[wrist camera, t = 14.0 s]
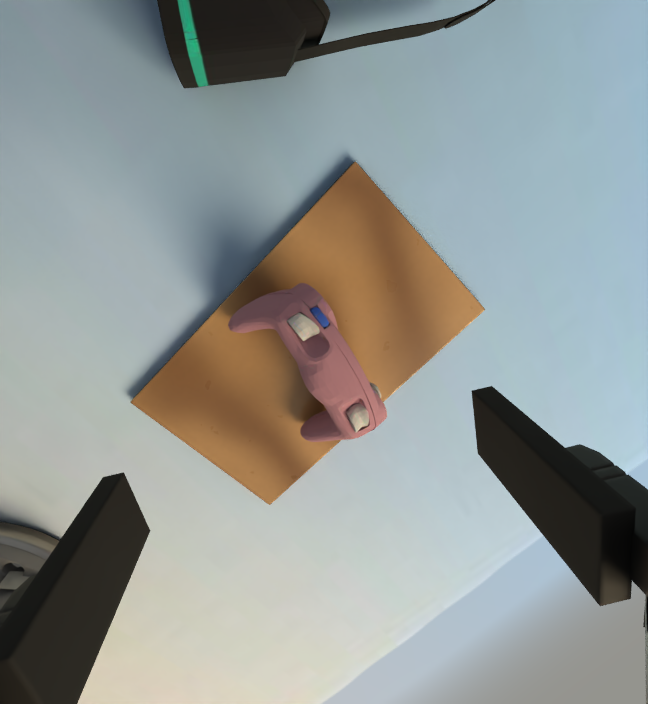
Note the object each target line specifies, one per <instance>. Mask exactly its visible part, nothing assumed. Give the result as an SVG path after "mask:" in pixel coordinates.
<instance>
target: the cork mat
mask: <svg viewBox="0 0 648 704" xmlns="http://www.w3.org/2000/svg"><path fill="white" fill-rule="evenodd" d="M299 283H305V284H308V285H310V286H311V287H313V288H314V289H315V290H316V291H317V292H318V293H320V294H321V296H322V297H323V298H324V299H325V300H326V302H327V303H328V305H329V306H330V308H331V309H332V311H333V314H334V316H335V319H336V322H337V327H338V331H339V332H340V334H341V335H342V337H343V338H344V340H345V341H346V343H347V344H348V346H349V347H350V349H351V350H352V352H353V354H354V355H355V357H356V359H357V360H358V362H359V364H360V366H361V368H362V369H363V371H364V373H365V375H366V377H367V379H368V381H369V382H370V383H373V384H375V385H376V386H377V387H378V388H379V391H380V393H381V398H380V399H381V400H382V402H384V401H385V400H386V399H387V398H388V397H389V396H390V395H391V394H393V393H394V392H395V391H396V390H397V389H398V388H399V387H400V386H401V385H402V384H404V383H405V382H406V381H407V380H408V379H409V378H410V377H411V376H412V375H414V374H415V373H416V372H417V371H418V370H419V369H420V368H421V367H422V366H423V365H425V364H426V363H427V362H428V361H429V360H430V359H431V358H432V357H433V356H434V355H436V354H437V353H438V352H439V351H440V350H441V349H442V348H443V347H444V346H446V345H447V344H448V343H449V342H450V341H451V340H452V339H453V338H454V337H455V336H457V335H458V334H459V333H460V332H461V331H462V330H463V329H464V328H465V327H466V326H468V325H469V324H470V323H471V322H472V321H473V320H474V319H475V318H476V317H477V316H479V315H480V314H481V313H482V312H483V311H484V310H485V309H484V307H483V306H482V305H481V304H480V303H479V302H478V301H477V299H476V298H475V297H474V296H473V295H472V294H471V293H470V291H469V290H468V289H467V288H466V287H465V286H464V285H463V283H462V282H461V281H460V280H459V279H458V278H457V277H456V275H455V274H454V273H453V272H452V271H451V270H450V269H449V267H448V266H447V265H446V264H445V263H444V262H443V261H442V259H441V258H440V257H439V256H438V255H437V254H436V253H435V251H434V250H433V249H432V248H431V247H430V246H429V245H428V243H427V242H426V241H425V240H424V239H423V238H422V237H421V236H420V234H419V233H418V232H417V231H416V230H415V229H414V228H413V226H412V225H411V224H410V223H409V222H408V221H407V220H406V218H405V217H404V216H403V215H402V214H401V213H400V212H399V210H398V209H397V208H396V207H395V206H394V205H393V204H392V202H391V201H390V200H389V199H388V198H387V197H386V196H385V194H384V193H383V192H382V191H381V190H380V189H379V188H378V186H377V185H376V184H375V183H374V182H373V181H372V180H371V178H370V177H369V176H368V175H367V174H366V173H365V172H364V170H363V169H362V168H361V167H360V166H359V165H358V164H357V162H354V163H353V164H352V165H351V166H350V167H349V168H348V169H347V170H346V171H345V172H344V173H343V174H342V175H341V176H340V178H339V179H338V180H337V181H336V182H335V183H334V184H333V185H332V186H331V187H330V188H329V189H328V190H327V191H326V193H325V194H324V195H323V196H322V197H321V198H320V199H319V200H318V201H317V202H316V203H315V204H314V205H313V206H312V208H311V209H310V210H309V211H308V212H307V213H306V214H305V215H304V216H303V217H302V218H301V219H300V220H299V221H298V223H297V224H296V225H295V226H294V227H293V228H292V229H291V230H290V231H289V232H288V233H287V234H286V235H285V236H284V238H283V239H282V240H281V241H280V242H279V243H278V244H277V245H276V246H275V247H274V248H273V249H272V250H271V251H270V253H269V254H268V255H267V256H266V257H265V258H264V259H263V260H262V261H261V262H260V263H259V264H258V265H257V267H256V268H255V269H254V270H253V271H252V272H251V273H250V274H249V275H248V276H247V277H246V278H245V279H244V280H243V282H242V283H241V284H240V285H239V286H238V287H237V288H236V289H235V290H234V291H233V292H232V293H231V294H230V295H229V297H228V298H227V299H226V300H225V301H224V302H223V303H222V304H221V305H220V306H219V307H218V308H217V309H216V310H215V312H214V313H213V314H212V315H211V316H210V317H209V318H208V319H207V320H206V321H205V322H204V323H203V324H202V325H201V327H200V328H199V329H198V330H197V331H196V332H195V333H194V334H193V335H192V336H191V337H190V338H189V339H188V340H187V342H186V343H185V344H184V345H183V346H182V347H181V348H180V349H179V350H178V351H177V352H176V353H175V354H174V355H173V357H172V358H171V359H170V360H169V361H168V362H167V363H166V364H165V365H164V366H163V367H162V368H161V369H160V370H159V372H158V373H157V374H156V375H155V376H154V377H153V378H152V379H151V380H150V381H149V382H148V383H147V384H146V385H145V387H144V388H143V389H142V390H141V391H140V392H139V393H138V394H137V395H136V396H135V397H134V398H133V399H132V401H131V403H132V404H133V405H135V406H136V407H137V408H139V409H140V410H141V411H143V412H144V413H146V414H147V415H148V416H150V417H151V418H152V419H154V420H155V421H156V422H158V423H159V424H160V425H162V426H163V427H165V428H166V429H167V430H169V431H170V432H171V433H173V434H174V435H175V436H177V437H178V438H179V439H181V440H182V441H184V442H185V443H186V444H188V445H189V446H190V447H192V448H193V449H194V450H196V451H197V452H198V453H200V454H201V455H203V456H204V457H205V458H207V459H208V460H209V461H211V462H212V463H213V464H215V465H216V466H217V467H219V468H220V469H222V470H223V471H224V472H226V473H227V474H228V475H230V476H231V477H232V478H234V479H235V480H236V481H238V482H239V483H241V484H242V485H243V486H245V487H246V488H247V489H249V490H250V491H251V492H253V493H254V494H255V495H257V496H258V497H260V498H261V499H262V500H264V501H265V502H266V503H268V504H269V505H270V504H271V503H272V502H273V501H275V500H276V499H277V498H278V497H279V496H280V495H281V494H282V493H283V492H284V491H286V490H287V489H288V488H289V487H290V486H291V485H292V484H293V483H294V482H295V481H297V480H298V479H299V478H300V477H301V476H302V475H303V474H304V473H305V472H307V471H308V470H309V469H310V468H311V467H312V466H313V465H314V464H315V463H316V462H318V461H319V460H320V459H321V458H322V457H323V456H324V455H325V454H326V453H327V452H329V451H330V450H331V449H332V448H333V447H334V446H335V445H336V444H337V443H339V442H340V441H341V440H333V441H324V442H310V441H307V440H305V439H304V438H303V437H302V436H301V433H300V430H301V427H302V425H303V424H304V422H305V421H307V420H308V419H309V418H310V417H312V416H314V415H316V414H318V413H320V412H322V411H325V410H326V408H325V406H324V405H323V404H322V403H321V402H320V401H318V400H317V399H316V398H315V397H314V396H313V395H312V394H311V393H310V392H309V390H308V389H307V387H306V385H305V383H304V381H303V379H302V376H301V374H300V371H299V367H298V364H297V362H296V360H295V359H294V357H293V356H292V354H291V353H290V351H289V350H288V349H287V347H286V345H285V344H284V342H283V341H282V339H281V337H280V336H279V334H278V333H277V331H276V330H274V329H262V330H255V331H251V332H247V333H237V332H233V331H231V330H230V329H229V327H228V323H229V320H230V318H231V317H232V316H233V315H234V314H235V313H236V312H237V311H238V310H239V309H240V308H241V307H243V306H245V305H246V304H248V303H250V302H252V301H253V300H255V299H257V298H259V297H261V296H264V295H266V294H269V293H273V292H276V291H280V290H287V289H292V288H293V287H295V286H296V285H297V284H299Z"/></svg>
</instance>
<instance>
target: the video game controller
mask: <svg viewBox="0 0 648 704" xmlns="http://www.w3.org/2000/svg"><path fill="white" fill-rule="evenodd" d="M228 327H229V329H230V330H231V331H233V332H237V333H247V332H251V331H255V330H262V329H274V330H276V331H277V333H278V334H279V336H280V337H281V339H282V341H283V342H284V344H285V345H286V347H287V349H288V350H289V351H290V353H291V354H292V356H293V357H294V359H295V360H296V362H297V364H298V367H299V371H300V374H301V376H302V379H303V381H304V383H305V385H306V387H307V389H308V390H309V392H310V393H311V394H312V395H313V396H314V397H315V398H316V399H317V400H318V401H320V402H321V403H322V404H323V405H324V406H325V408H326V410H325V411H322V412H320V413H318V414H316V415H314V416H312V417H310V418H309V419H308V420H307V421H305V422H304V424H303V425H302V427H301V430H300V433H301V436H302V437H303V438H304V439H305V440H307V441H310V442H324V441H333V440H346V439H354V438H358V437H360V436H362V435H365V434H366V433H368V432H370V431H372V430H374V429H375V428H376V427H377V426H378V425H379V424H381V423H382V422H383V421H384V420H385V419H386V417H387V412H386V408H385V406H384V403H383V402H382V400H381V399H380V398H381V393H380V391H379V388H378V387H377V386H376V385H375V384H373V383H370V382H369V381H368V379H367V377H366V375H365V373H364V371H363V369H362V368H361V366H360V364H359V362H358V360H357V359H356V357H355V355H354V354H353V352H352V350H351V349H350V347H349V346H348V344H347V343H346V341H345V340H344V338H343V337H342V335H341V334H340V332H339V331H338V327H337V322H336V319H335V316H334V314H333V311H332V309H331V308H330V306H329V305H328V303H327V302H326V300H325V299H324V298H323V297H322V296H321V294H320V293H318V292H317V291H316V290H315V289H314V288H313V287H311V286H310V285H308V284H305V283H299V284H297V285H296V286H295V287H293V288H292V289H287V290H280V291H276V292H273V293H269V294H266V295H264V296H261V297H259V298H257V299H255V300H253V301H252V302H250V303H248V304H246V305H245V306H243V307H241V308H240V309H239V310H238V311H237V312H236V313H235V314H234V315H233V316H232V317H231V318H230V320H229V323H228Z"/></svg>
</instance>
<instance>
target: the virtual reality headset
mask: <svg viewBox="0 0 648 704" xmlns="http://www.w3.org/2000/svg"><path fill="white" fill-rule="evenodd" d="M490 1H491V0H488V1H487V2H486V3H484V4H482V5H480V6H479V7H477V8H475V9H473V10H470V11H468V12H465V13H462V14H460V15H457V16H455V17H451V18H447V19H443V20H438V21H434V22H429V23H422V24H416V25H410V26H404V27H399V28H393V29H388V30H382V31H377V32H371V33H366V34H362V35H358V36H353V37H349V38H345V39H341V40H336V41H332V42H328V43H324V44H319V43H320V41H321V38H322V36H323V34H324V31H325V29H326V26H327V23H328V20H329V16H330V11H329V8H328V7H327V5H326V3H325V2H324V1H323V0H157V2H158V7H159V12H160V17H161V22H162V26H163V31H164V36H165V40H166V44H167V48H168V51H169V54H170V57H171V60H172V62H173V65H174V68H175V70H176V72H177V75H178V77H179V79H180V82H181V83H182V85H183V87H184V88H194V87H201V86H209V85H217V84H225V83H233V82H241V81H249V80H257V79H265V78H273V77H281V76H286V75H287V73H288V72H289V70H290V68H291V67H292V65H293V64H294V62H296V61H301V60H305V59H309V58H314V57H318V56H322V55H326V54H331V53H335V52H339V51H343V50H348V49H352V48H356V47H361V46H367V45H372V44H377V43H383V42H388V41H394V40H399V39H405V38H410V37H416V36H420V35H424V34H427V33H430V32H433V31H436V30H439V29H442V28H444V27H445V29H446V28H449V27H451V26H454V25H456V24H458V23H460V22H462V21H464V20H466V19H467V18H469V17H471V16H473V15H475V14H476V13H478V12H479V11H480V10H482V9H483V8H485V7H486V6H488V5H489V4H491V3H492V2H494V1H495V0H492V1H491V2H490ZM487 3H488V4H487ZM486 4H487V5H486ZM484 5H485V6H484Z"/></svg>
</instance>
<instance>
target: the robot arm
mask: <svg viewBox="0 0 648 704" xmlns="http://www.w3.org/2000/svg"><path fill="white" fill-rule="evenodd" d="M472 399H473V409H474V419H475V429H476V439H477V449H478V454H479V455H480V456H481V458H482V459H483V460H484V461H485V463H486V464H487V465H488V466H489V468H490V469H491V470H492V471H493V473H494V474H495V475H496V476H497V478H498V479H499V480H500V482H501V483H502V484H503V485H504V487H505V488H506V489H507V490H508V492H509V493H510V494H511V495H512V497H513V498H514V499H515V500H516V502H517V503H518V504H519V505H520V507H521V508H522V509H523V510H524V512H525V513H526V514H527V515H528V517H529V518H530V519H531V520H532V522H533V523H534V524H535V525H536V527H537V528H538V529H539V530H540V532H541V533H542V534H543V535H544V537H545V538H546V539H547V540H548V542H549V543H550V544H551V545H552V547H553V548H554V549H555V550H556V552H557V553H558V554H559V555H560V557H561V558H562V559H563V560H564V562H565V563H566V564H567V565H568V566H569V568H570V569H571V570H572V571H573V573H574V574H575V575H576V577H577V578H578V579H579V580H580V582H581V583H582V584H583V585H584V587H585V588H586V589H587V590H588V592H589V593H590V594H591V595H592V597H593V598H594V599H595V600H596V602H597V603H598V604H599V605H600V606H603V605H607V604H611V603H614V602H619V601H623V600H627V599H630V598H631V583H632V581H633V582H634V583H635V584H636V585H637V586H638V587H639V588H640V589H641V590H642V591H643V592H644V593H645V595H646V599H645V612H644V627H645V637H646V638H645V639H646V643H645V644H646V704H648V490H647V489H646V488H645V487H644V486H642V485H641V484H640V483H639V482H637V481H636V480H635V479H633V478H632V477H631V476H629V475H626V473H625V472H624V471H623V470H622V469H620V468H619V467H618V466H614V464H613V463H612V462H611V461H610V460H609V459H607V458H606V457H605V456H603V455H602V454H601V453H599V452H597V451H595V450H592V449H590V448H588V447H585V446H583V445H575V446H571V447H567V448H564V447H563V446H562V445H561V444H560V443H559V442H557V441H556V440H555V439H554V438H553V437H551V436H550V435H549V434H548V433H547V432H545V431H544V430H543V429H542V428H541V427H540V426H538V425H537V424H536V423H535V422H534V421H532V420H531V419H530V418H529V417H528V416H527V415H525V414H524V413H523V412H522V411H521V410H519V409H518V408H517V407H516V406H515V405H513V404H512V403H511V402H510V401H509V400H508V399H506V398H505V397H504V396H503V395H502V394H500V393H499V392H498V391H497V390H496V389H495V388H493V387H492V386H490V387H486V388H482V389H477V390H473V391H472ZM149 532H150V530H149V527H148V525H147V523H146V521H145V518H144V516H143V514H142V512H141V510H140V507H139V505H138V503H137V501H136V499H135V496H134V494H133V492H132V490H131V487H130V485H129V483H128V481H127V479H126V476H125V474H124V473H119V474H115V475H111V476H107V477H103V478H102V480H101V481H100V483H99V484H98V486H97V487H96V489H95V490H94V491H93V493H92V494H91V496H90V497H89V499H88V500H87V502H86V503H85V505H84V506H83V508H82V509H81V510H80V512H79V513H78V515H77V516H76V518H75V519H74V521H73V522H72V524H71V525H70V526H69V528H68V529H67V531H66V532H65V534H64V535H63V537H62V538H61V540H60V541H58V540H57V539H55V538H53V537H51V536H49V535H46V534H44V533H42V532H39V531H36V530H33V529H30V528H27V527H23V526H19V525H15V524H10V523H3V522H0V704H77V703H78V700H79V698H80V696H81V693H82V691H83V688H84V686H85V684H86V681H87V679H88V677H89V674H90V672H91V670H92V667H93V665H94V662H95V660H96V658H97V655H98V653H99V651H100V648H101V646H102V644H103V641H104V639H105V636H106V634H107V632H108V629H109V627H110V625H111V622H112V620H113V618H114V615H115V613H116V610H117V608H118V606H119V603H120V601H121V599H122V596H123V594H124V591H125V589H126V587H127V584H128V582H129V580H130V577H131V575H132V573H133V570H134V568H135V565H136V563H137V561H138V558H139V556H140V554H141V551H142V549H143V547H144V544H145V542H146V539H147V537H148V535H149Z"/></svg>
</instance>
